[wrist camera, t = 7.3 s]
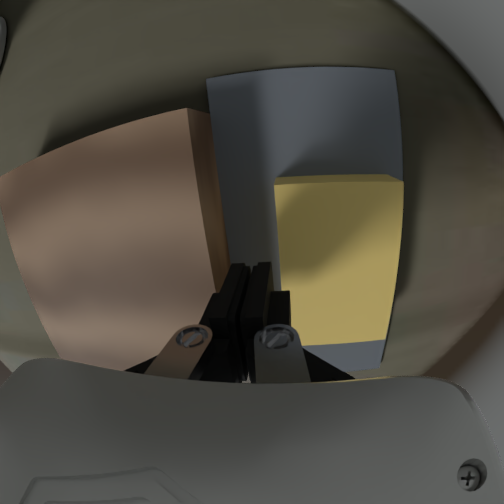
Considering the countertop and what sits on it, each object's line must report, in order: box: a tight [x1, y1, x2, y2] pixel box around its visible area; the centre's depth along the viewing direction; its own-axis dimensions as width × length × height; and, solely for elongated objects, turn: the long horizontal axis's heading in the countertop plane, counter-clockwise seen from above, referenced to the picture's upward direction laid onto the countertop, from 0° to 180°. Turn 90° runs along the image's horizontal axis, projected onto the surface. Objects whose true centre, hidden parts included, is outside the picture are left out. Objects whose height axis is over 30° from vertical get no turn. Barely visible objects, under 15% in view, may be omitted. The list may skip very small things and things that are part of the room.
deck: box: [0, 108, 231, 371], centre depth 16 cm, size 16×15×4 cm
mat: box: [206, 67, 403, 372], centre depth 16 cm, size 20×10×1 cm, turn 6°
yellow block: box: [274, 174, 404, 346], centre depth 14 cm, size 9×6×2 cm, turn 6°
